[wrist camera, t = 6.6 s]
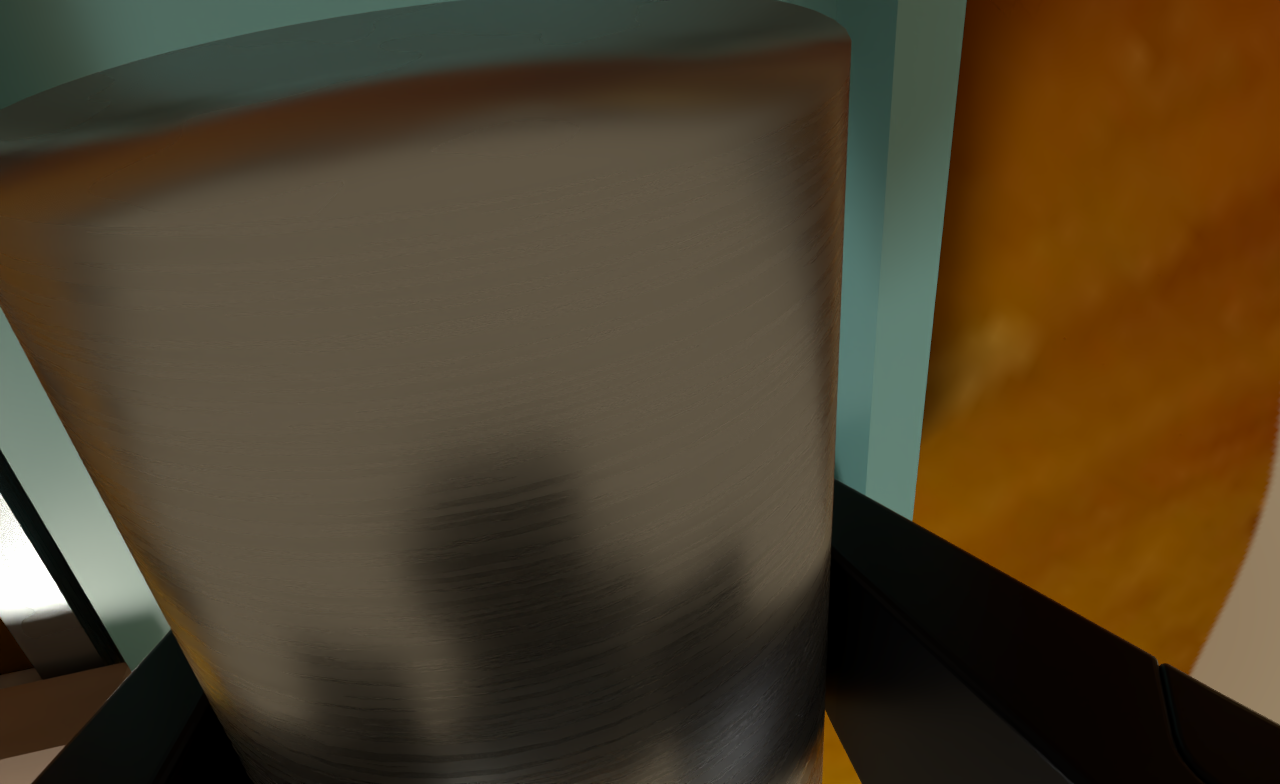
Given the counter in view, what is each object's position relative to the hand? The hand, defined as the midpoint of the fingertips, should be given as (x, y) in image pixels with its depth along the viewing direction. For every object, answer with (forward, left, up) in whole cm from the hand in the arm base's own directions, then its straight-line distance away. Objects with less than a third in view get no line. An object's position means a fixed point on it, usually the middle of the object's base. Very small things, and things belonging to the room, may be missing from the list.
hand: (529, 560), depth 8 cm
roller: (0, 0, +1) cm, 1 cm away
